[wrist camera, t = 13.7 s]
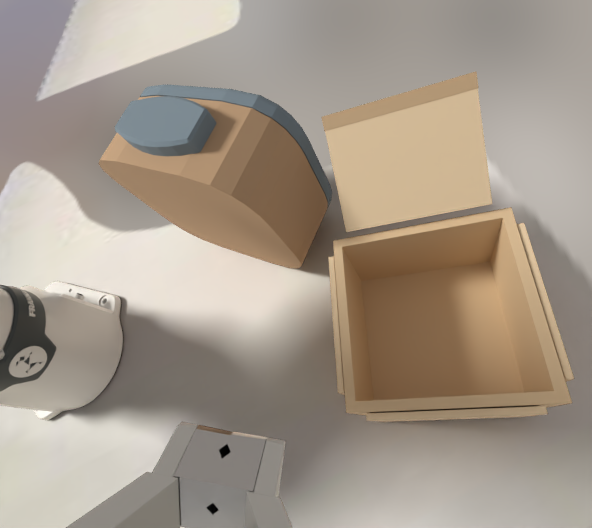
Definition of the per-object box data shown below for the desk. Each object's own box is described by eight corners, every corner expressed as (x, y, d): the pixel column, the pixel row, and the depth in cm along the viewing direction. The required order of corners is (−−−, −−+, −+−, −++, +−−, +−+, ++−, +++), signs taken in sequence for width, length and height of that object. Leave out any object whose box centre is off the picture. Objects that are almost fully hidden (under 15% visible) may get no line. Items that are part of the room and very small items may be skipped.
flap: (493, 204, 30) (476, 71, 28) (345, 232, 33) (321, 116, 31) (491, 203, 30) (474, 73, 28) (346, 231, 34) (322, 117, 32)
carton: (363, 422, 37) (339, 421, 29) (349, 278, 44) (326, 241, 35) (548, 416, 32) (586, 412, 24) (502, 254, 39) (519, 205, 30)
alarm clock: (345, 213, 47) (282, 74, 28) (316, 280, 45) (227, 177, 26) (222, 185, 56) (114, 66, 38) (193, 239, 54) (63, 142, 36)
